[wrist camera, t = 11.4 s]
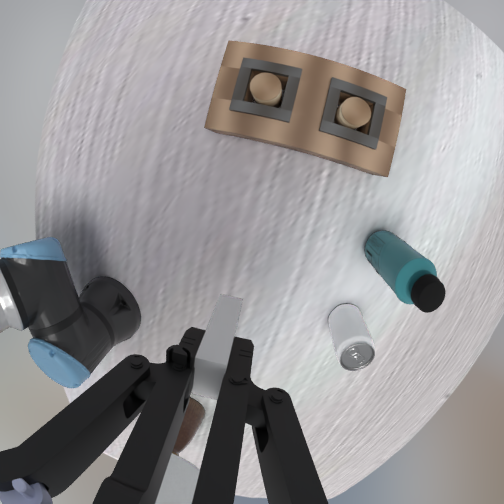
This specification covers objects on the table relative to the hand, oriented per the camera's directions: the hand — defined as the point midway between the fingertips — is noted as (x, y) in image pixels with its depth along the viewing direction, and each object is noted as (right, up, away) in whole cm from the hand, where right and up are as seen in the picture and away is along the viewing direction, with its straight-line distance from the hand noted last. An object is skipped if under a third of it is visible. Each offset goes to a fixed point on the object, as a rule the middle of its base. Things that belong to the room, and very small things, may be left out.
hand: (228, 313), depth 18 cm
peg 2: (+16, +25, +19) cm, 35 cm away
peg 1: (+4, +28, +19) cm, 34 cm away
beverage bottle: (+23, +5, +25) cm, 35 cm away
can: (+19, -8, +30) cm, 37 cm away
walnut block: (+10, +26, +20) cm, 34 cm away
